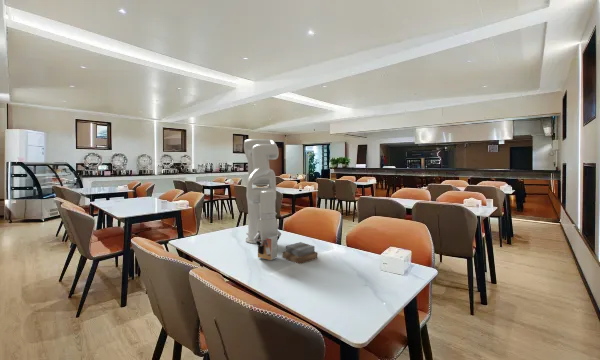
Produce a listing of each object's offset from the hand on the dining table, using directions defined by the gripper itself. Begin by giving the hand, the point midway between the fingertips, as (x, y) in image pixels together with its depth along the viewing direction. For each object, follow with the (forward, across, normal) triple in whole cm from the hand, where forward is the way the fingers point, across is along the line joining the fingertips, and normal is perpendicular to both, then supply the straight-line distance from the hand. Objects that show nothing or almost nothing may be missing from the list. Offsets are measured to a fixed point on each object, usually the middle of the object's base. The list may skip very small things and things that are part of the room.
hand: (267, 251), depth 143 cm
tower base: (+3, -12, +10) cm, 16 cm away
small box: (+3, 0, 0) cm, 3 cm away
